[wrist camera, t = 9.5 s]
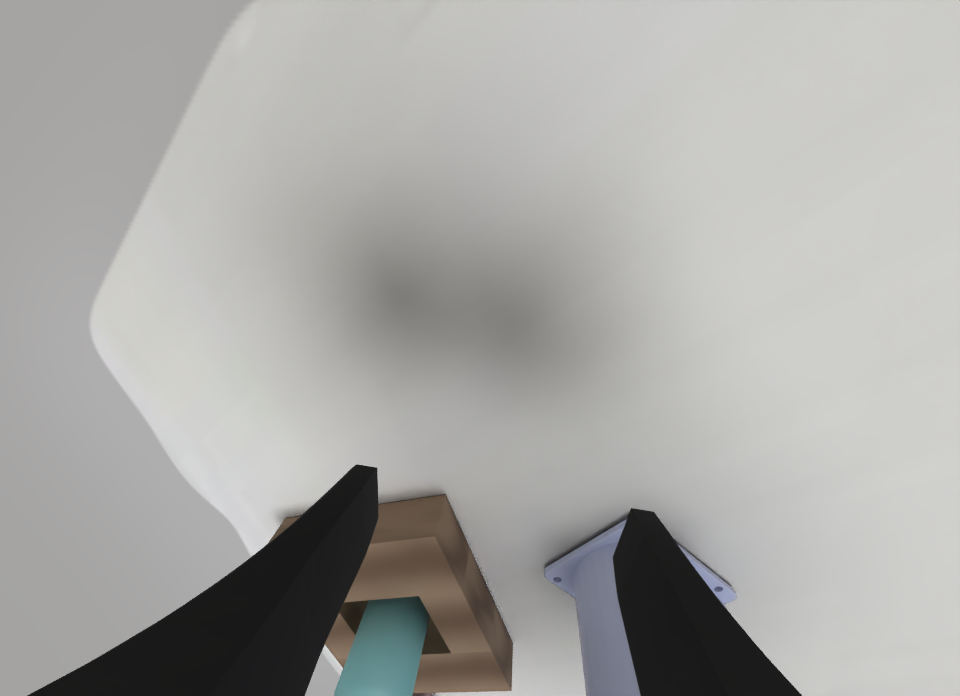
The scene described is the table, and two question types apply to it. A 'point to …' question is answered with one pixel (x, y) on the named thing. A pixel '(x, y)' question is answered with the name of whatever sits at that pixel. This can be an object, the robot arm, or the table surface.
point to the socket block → (430, 597)
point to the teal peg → (386, 649)
